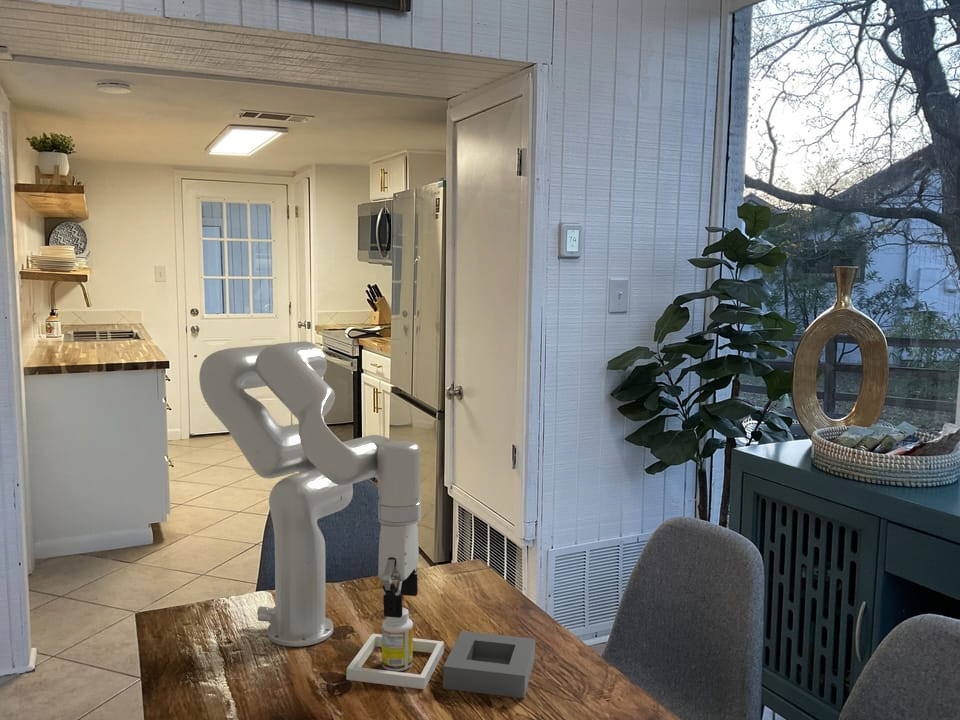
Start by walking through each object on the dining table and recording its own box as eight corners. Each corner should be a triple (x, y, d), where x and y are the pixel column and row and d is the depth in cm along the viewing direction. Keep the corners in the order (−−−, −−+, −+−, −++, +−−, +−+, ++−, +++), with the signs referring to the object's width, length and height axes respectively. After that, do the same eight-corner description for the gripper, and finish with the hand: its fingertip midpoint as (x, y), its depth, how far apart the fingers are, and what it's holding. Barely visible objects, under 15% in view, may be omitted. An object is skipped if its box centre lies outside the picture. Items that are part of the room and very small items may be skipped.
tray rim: (346, 679, 140) (346, 668, 140) (372, 643, 154) (372, 633, 154) (424, 689, 138) (424, 678, 137) (443, 651, 151) (444, 641, 151)
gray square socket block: (443, 688, 138) (443, 666, 137) (460, 651, 152) (461, 630, 151) (524, 698, 135) (524, 675, 135) (534, 659, 149) (535, 638, 149)
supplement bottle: (402, 655, 150) (402, 602, 148) (418, 667, 145) (419, 612, 144) (375, 663, 146) (376, 609, 145) (391, 676, 142) (392, 620, 141)
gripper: (393, 497, 152) (395, 586, 153) (363, 524, 135) (365, 623, 136) (432, 499, 150) (433, 588, 152) (406, 527, 133) (408, 627, 135)
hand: (401, 605), depth 144 cm, fingers open, 9 cm apart
